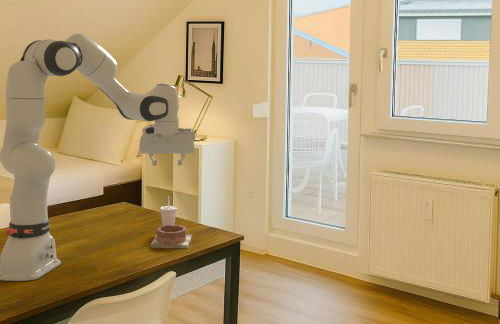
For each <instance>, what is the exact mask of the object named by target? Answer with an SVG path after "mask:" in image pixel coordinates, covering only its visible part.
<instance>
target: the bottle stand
mask: <svg viewBox="0 0 500 324" xmlns="http://www.w3.org/2000/svg"><path fill="white" fill-rule="evenodd" d="M192 238H193V234H187V226H183V225H179V224H175V225H165V226H163V225H161V226H158V227H157V229H156V235H155V236H154V238H153V240H152V241H151V243H150V244H149V245H150V248H152V249H153V248H155V249H156V248H157V249H159V248H160V249H161V248H162V249H164V248H165V249H188V248H189V245H190V243H191V241H192Z"/></svg>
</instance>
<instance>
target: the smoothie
mask: <svg viewBox="0 0 500 324" xmlns="http://www.w3.org/2000/svg"><path fill="white" fill-rule="evenodd" d="M170 198H171V197H170V195H167V201H168V202H167V205H164V206H163V205H162V206H160V207H159V211H160V214H161V222H162V226H165V225H176V224H175V223H176V214H177V210H178V207H177V206H175V205H170Z"/></svg>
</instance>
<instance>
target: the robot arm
mask: <svg viewBox="0 0 500 324" xmlns="http://www.w3.org/2000/svg"><path fill="white" fill-rule="evenodd" d="M75 70H76V71H78V72H79V73H80V74H81V75H82V76H83V77H85V79H87V80H89V81H90V82H91V83H93V84H94V85H95V86H96V87H97V88H98V89H99V90H100V91H101V92H102V93H103V94H104V95H106V96H107V98H108V99H109V100H111V101H112V103H114V105H115V106H116V108H117V111H118V112H119V114H120V115H121V117H123V118H124V119H125V120H129V121H132V120H133V121H142V122H153V121H154V123H151V124H149V125H146V126H144V127H142V135H141V136H140V140H139V152H140V154H142V155H143V154H146V155H147V154H148V156H149V158H150V160H151V161H152V166H157V162H158V160H157V159H155V158H154V154H173V155H174V154H175V155H176V154H180V156H181V158H180V159H178V160H177V165H178V166H182V165H183V161H184V159H185V157H186V154H193V153H195V142H194V140H195V138H196V132H195V130H194V129H192V128H191V127H190V128H189V127H188V128H185V127H180V125H179V124H180V120H179V113H178V112H179V108H180V107H179V104H180V103H179V102H180V101H179V94H178V89H177V88H176V86H174V85H171V84H164V83H157V84H155V86H154V87H153V88H152V89H150V90H149V91H147V92H145V93H137V92H133V91H130V90H127V89H126V88H125V87H124V86H123V85H122V84H121V83H120V82H119V81H118V80H117V79H116V76H117V73H118V63H117V61H116V59H115V58H114V57H113V56H112V54H110V53H109V52H108V51H107V50H106V49H105V48H104V47H102V46H101V45H100V44H99V43H97V42H96V41H95V40H93V39H92V38H91V37H88V36H86V35H85V34H83V33H74V34H71V35H70V36H68V38H66V40H54V39H43V40H41V39H38V40H33V41H32V42H30V43H29V44H28V45H27V46H26V47H25V49H24V50H23V53H22V56H21V58H20V60H19V61H16V62H13V63H12V64H11V65H10V66H9V68H8V72H7V76H6V77H7V79H6V87H5V88H6V89H5V90H6V91H5V93H6V94H5V101H6V102H5V106H6V107H5V110H6V112H5V115H6V116H5V117H6V118H5V119H6V121H5V122H6V124H5V132H4V136H3V137H4V138H3V141H2V142H3V143H2V147H1V148H0V163H1V165H2V167H3V168H4V169H5V170H6V171H7V172H8V173H10V174H12V175H13V178H14V179H13V180H14V181H13V188H12V192H11V194H10V196H9V213H10V221H9V223H8V227H7V228H5V235H8V237H7V239H6V242H5V244H4V246H3V249H2V251H1V253H0V281H7V282H9V281H11V282H12V281H13V282H21V281H23V282H24V281H33V280H34V281H35V280H38V279H39V278H41V277H43V276H44V275H46V274H47V273H48V272H51V271H53V270H54V269H56V268H57V267H58V266H60V265H62V261H61V259H58V257H57V250H56V242H55V241H56V240H55V238H54V237H53V236H52V234H51V233H50V230H51V223H50V218H48V216H49V213H48V192H49V187H50V180H51V176H52V175H53V173H54V172H55V169H56V160H55V157H54V156H53V154H51V152H50V151H49V150H48V149H47V148H45V147H44V146H41V145H40V144H39V142H40V137H41V132H42V130H43V128H44V126H45V123H46V121H45V120H46V117H45V116H46V111H45V109H46V107H45V102H46V101H45V99H46V98H45V86H46V85H45V84H46V81H47V79H48V77H65V76H69V75H71V74H72V73H73V72H75Z"/></svg>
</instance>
